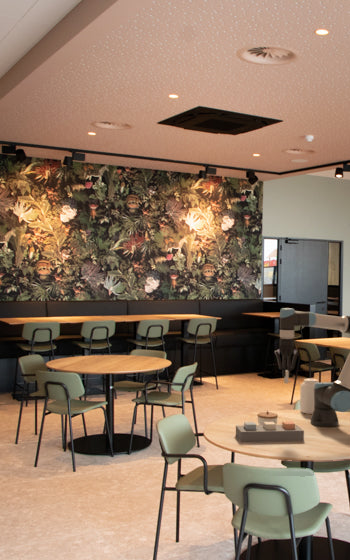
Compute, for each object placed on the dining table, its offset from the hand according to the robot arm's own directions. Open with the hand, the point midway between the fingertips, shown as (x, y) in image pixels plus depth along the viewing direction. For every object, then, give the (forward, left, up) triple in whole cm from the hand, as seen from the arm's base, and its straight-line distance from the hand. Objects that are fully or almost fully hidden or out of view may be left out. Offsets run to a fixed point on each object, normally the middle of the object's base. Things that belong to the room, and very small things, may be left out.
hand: (286, 382), depth 305 cm
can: (-30, -46, -27) cm, 61 cm away
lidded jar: (+7, -10, -27) cm, 29 cm away
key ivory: (+11, +8, -24) cm, 27 cm away
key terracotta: (+1, +8, -24) cm, 25 cm away
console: (+11, +8, -26) cm, 30 cm away
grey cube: (+21, +8, -24) cm, 33 cm away
